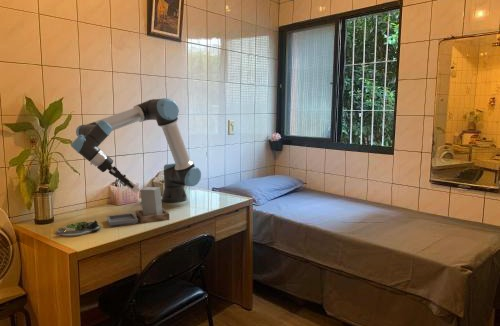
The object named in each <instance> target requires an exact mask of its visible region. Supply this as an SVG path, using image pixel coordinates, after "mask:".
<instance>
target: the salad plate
mask: <svg viewBox="0 0 500 326" xmlns="http://www.w3.org/2000/svg"><path fill="white" fill-rule="evenodd" d="M65 230H66V231H65ZM100 230H101V225H99V223H98V221H97V220H96V219H95V220H94V221H78V222H75V223H71V224H67V225H65V226H60V227H59V228H58V229H57V230H56V233H55V236H63V237H78V236H79V235H80V236H83V235H88V234H91V233H96V232H98V231H100ZM64 231H65V232H64Z"/></svg>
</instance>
